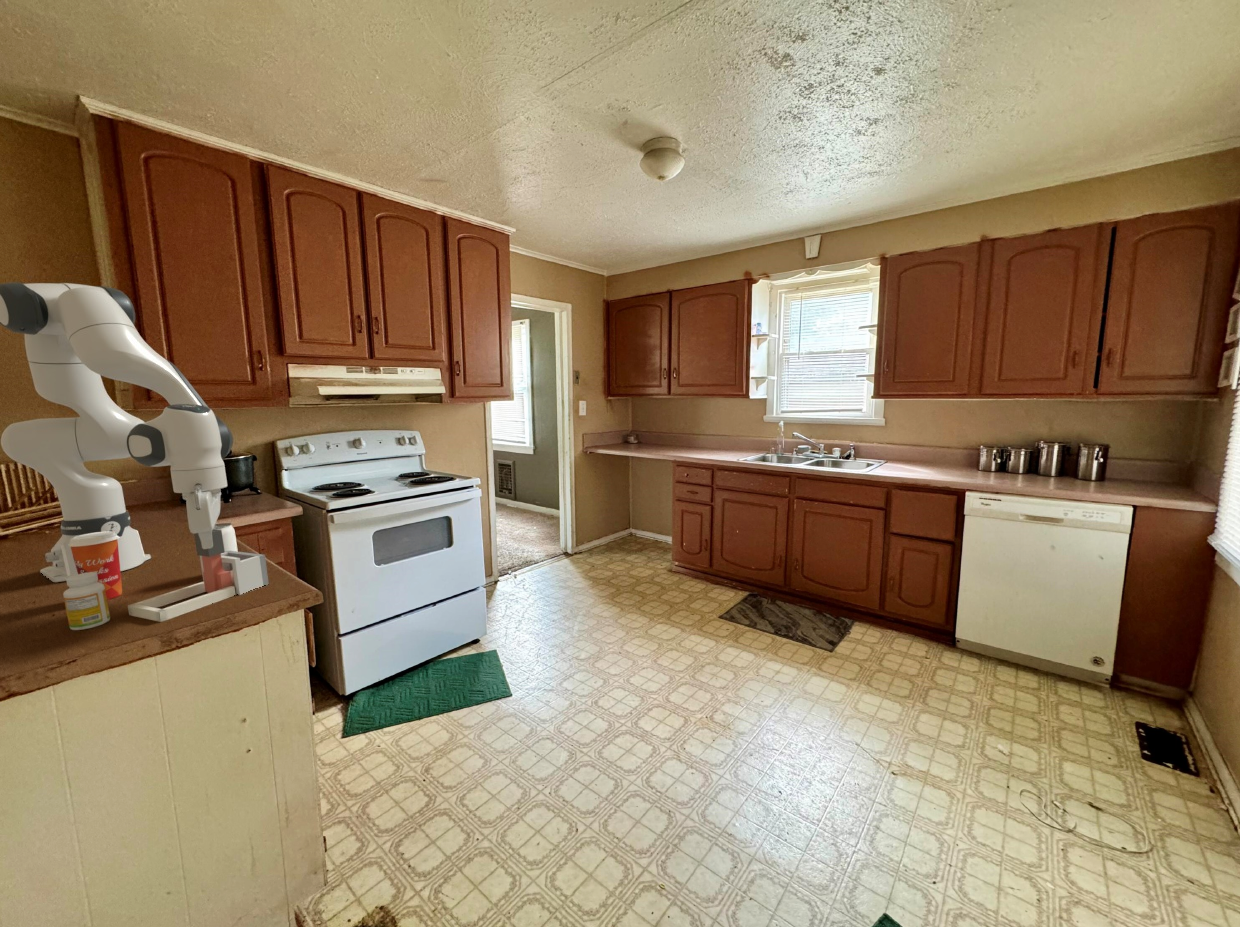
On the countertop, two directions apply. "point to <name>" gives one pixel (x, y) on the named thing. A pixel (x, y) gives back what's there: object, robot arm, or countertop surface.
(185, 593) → the white flat open frame
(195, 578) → the countertop surface
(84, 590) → the supplement bottle
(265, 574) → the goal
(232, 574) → the ball
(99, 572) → the paper cup
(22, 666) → the countertop surface
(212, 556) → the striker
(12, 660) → the countertop surface
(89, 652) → the countertop surface
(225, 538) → the can
